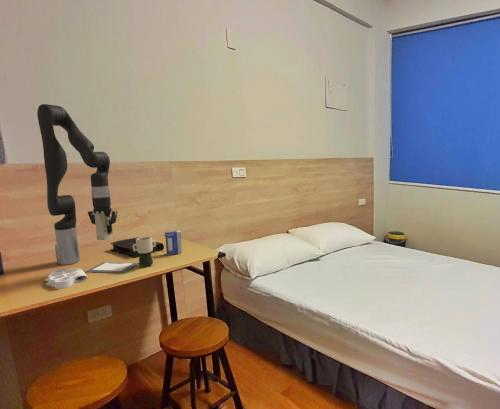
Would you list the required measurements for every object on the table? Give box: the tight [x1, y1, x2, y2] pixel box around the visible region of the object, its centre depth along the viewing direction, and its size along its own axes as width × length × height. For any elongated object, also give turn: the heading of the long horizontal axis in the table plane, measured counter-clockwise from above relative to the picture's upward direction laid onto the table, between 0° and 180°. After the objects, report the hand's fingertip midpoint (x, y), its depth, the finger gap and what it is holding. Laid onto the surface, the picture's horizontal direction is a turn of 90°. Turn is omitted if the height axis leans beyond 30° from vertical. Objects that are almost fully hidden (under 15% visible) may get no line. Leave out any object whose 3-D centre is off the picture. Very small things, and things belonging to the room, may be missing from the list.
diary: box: [109, 236, 165, 259], centre depth 178 cm, size 19×25×5 cm
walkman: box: [164, 230, 183, 256], centre depth 168 cm, size 8×3×12 cm, turn 103°
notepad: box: [85, 261, 139, 274], centre depth 150 cm, size 19×13×1 cm
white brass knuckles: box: [44, 267, 88, 290], centre depth 135 cm, size 3×18×15 cm
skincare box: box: [95, 213, 114, 241], centre depth 149 cm, size 6×4×12 cm
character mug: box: [133, 236, 157, 267], centre depth 151 cm, size 11×7×13 cm, turn 130°
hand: (104, 232), depth 150 cm, fingers closed on skincare box, 4 cm apart
